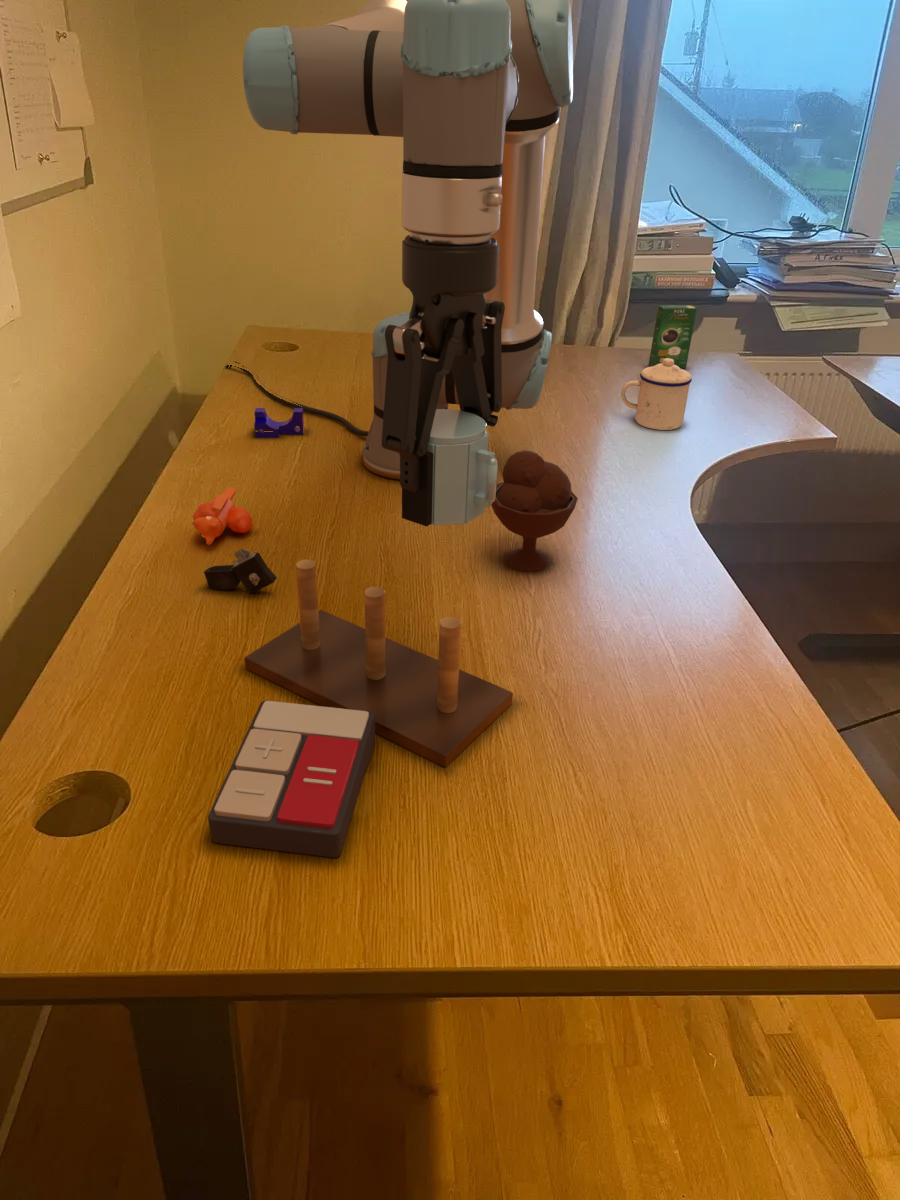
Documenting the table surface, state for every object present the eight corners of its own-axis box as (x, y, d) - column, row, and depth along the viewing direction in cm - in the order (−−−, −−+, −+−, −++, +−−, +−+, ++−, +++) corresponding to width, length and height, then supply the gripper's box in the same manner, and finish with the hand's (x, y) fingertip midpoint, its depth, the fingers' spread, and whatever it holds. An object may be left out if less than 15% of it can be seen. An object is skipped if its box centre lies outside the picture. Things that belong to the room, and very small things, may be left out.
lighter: (221, 609, 109) (195, 576, 107) (228, 601, 111) (202, 568, 109) (271, 585, 106) (245, 550, 104) (277, 577, 107) (252, 542, 105)
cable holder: (255, 437, 151) (253, 414, 149) (257, 430, 154) (255, 407, 152) (302, 437, 152) (301, 415, 150) (304, 430, 155) (302, 408, 153)
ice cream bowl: (502, 587, 111) (510, 476, 103) (476, 546, 120) (482, 440, 112) (581, 578, 113) (595, 468, 106) (550, 538, 123) (560, 435, 115)
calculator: (204, 812, 72) (261, 692, 84) (211, 848, 74) (265, 726, 86) (337, 828, 71) (375, 705, 83) (340, 864, 73) (376, 738, 85)
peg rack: (245, 668, 95) (234, 575, 89) (320, 620, 103) (316, 532, 97) (445, 768, 82) (448, 667, 76) (512, 703, 91) (520, 608, 85)
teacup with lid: (682, 416, 167) (692, 354, 161) (685, 433, 159) (696, 368, 153) (617, 410, 168) (625, 349, 162) (617, 427, 160) (626, 363, 154)
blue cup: (386, 510, 80) (385, 424, 75) (433, 484, 85) (435, 403, 81) (470, 538, 75) (474, 449, 71) (514, 510, 80) (520, 425, 76)
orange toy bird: (215, 473, 124) (188, 511, 113) (267, 492, 125) (245, 531, 114) (207, 504, 126) (181, 543, 116) (258, 522, 127) (236, 562, 117)
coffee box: (681, 365, 195) (692, 303, 188) (687, 369, 193) (698, 306, 186) (647, 366, 193) (656, 304, 186) (653, 370, 191) (662, 307, 184)
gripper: (411, 259, 60) (408, 559, 71) (556, 226, 74) (534, 481, 86) (326, 244, 63) (337, 533, 75) (481, 216, 77) (470, 462, 89)
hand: (442, 505), depth 80 cm, fingers closed on blue cup, 7 cm apart
